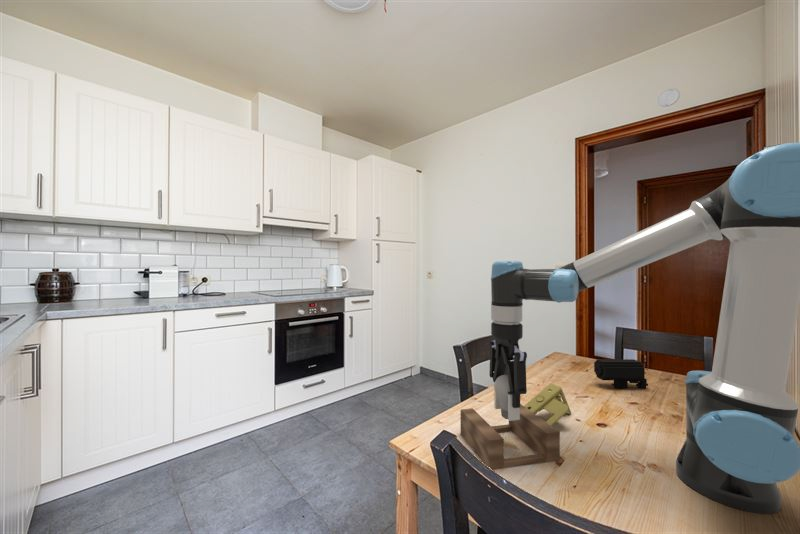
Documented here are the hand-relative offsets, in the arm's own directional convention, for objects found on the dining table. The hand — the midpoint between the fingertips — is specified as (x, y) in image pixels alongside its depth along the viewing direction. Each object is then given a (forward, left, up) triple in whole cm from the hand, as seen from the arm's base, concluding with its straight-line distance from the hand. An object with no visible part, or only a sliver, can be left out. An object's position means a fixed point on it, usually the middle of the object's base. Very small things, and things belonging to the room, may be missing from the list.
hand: (506, 413), depth 80 cm
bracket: (+10, -24, -12) cm, 28 cm away
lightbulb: (0, 0, -2) cm, 2 cm away
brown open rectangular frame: (0, 0, -9) cm, 9 cm away
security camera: (+28, -66, -9) cm, 73 cm away
